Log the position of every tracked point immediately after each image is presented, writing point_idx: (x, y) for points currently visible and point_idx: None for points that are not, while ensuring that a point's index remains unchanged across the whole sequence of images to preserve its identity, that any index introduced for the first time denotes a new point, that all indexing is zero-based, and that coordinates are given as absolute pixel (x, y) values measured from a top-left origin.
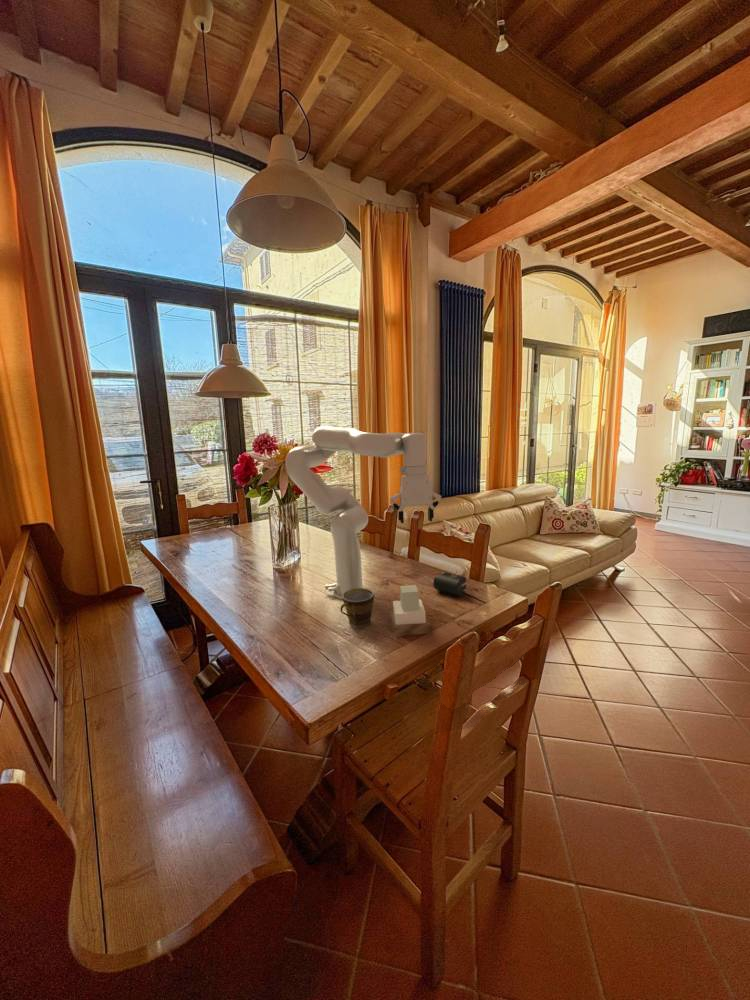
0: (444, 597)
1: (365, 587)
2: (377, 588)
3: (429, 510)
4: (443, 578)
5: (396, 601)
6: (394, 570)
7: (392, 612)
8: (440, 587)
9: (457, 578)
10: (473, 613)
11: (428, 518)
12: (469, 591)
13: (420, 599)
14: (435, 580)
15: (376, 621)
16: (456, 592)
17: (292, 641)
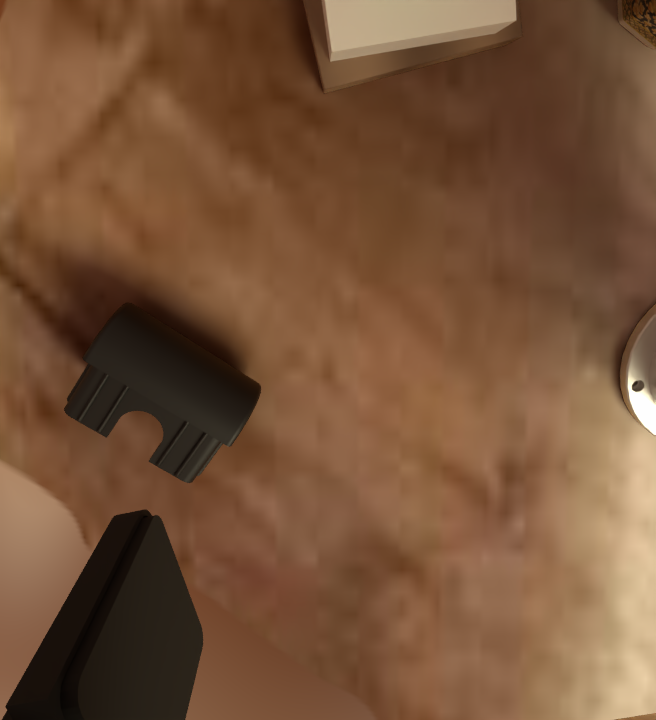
0: (207, 317)
1: (633, 402)
2: (560, 419)
3: (94, 715)
4: (194, 389)
5: (492, 13)
6: (467, 624)
7: None
8: (221, 360)
9: (105, 371)
10: (47, 125)
11: (188, 621)
12: None
13: (334, 48)
14: (246, 395)
15: (577, 14)
16: (131, 303)
17: None
